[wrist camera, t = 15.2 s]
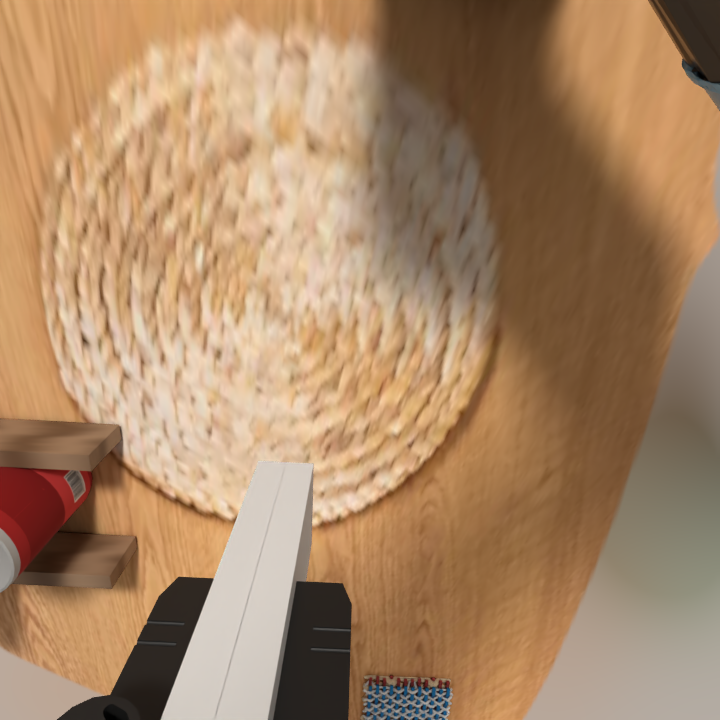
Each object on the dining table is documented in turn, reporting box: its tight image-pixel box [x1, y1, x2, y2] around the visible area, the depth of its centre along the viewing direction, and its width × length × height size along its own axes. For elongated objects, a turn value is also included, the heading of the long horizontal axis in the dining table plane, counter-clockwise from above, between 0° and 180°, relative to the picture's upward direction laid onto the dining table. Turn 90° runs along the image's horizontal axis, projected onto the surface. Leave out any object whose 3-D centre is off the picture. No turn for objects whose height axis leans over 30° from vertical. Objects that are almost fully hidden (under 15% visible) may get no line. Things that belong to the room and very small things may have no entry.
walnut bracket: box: [0, 418, 137, 589], centre depth 42 cm, size 12×14×5 cm
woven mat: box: [360, 675, 453, 720], centre depth 55 cm, size 10×11×2 cm
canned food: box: [0, 467, 92, 593], centre depth 39 cm, size 8×8×11 cm
